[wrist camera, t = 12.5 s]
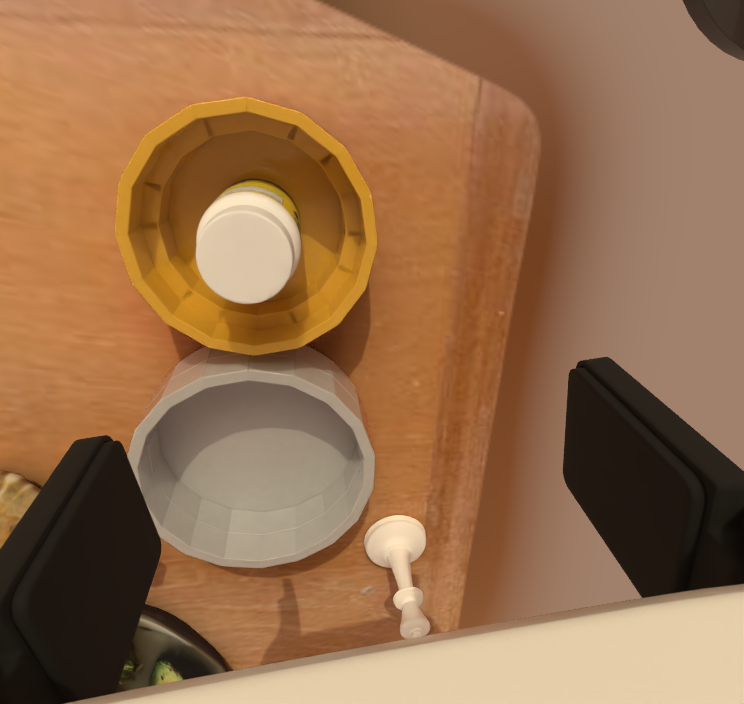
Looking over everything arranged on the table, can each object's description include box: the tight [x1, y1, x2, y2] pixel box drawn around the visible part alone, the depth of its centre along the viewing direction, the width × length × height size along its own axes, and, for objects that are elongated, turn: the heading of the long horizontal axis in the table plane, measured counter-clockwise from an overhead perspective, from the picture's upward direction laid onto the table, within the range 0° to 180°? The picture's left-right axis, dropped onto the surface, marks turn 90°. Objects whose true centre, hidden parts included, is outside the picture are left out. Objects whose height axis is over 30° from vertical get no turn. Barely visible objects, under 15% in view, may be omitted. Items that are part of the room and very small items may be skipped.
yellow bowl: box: [115, 97, 378, 356], centre depth 27 cm, size 12×12×5 cm
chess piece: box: [364, 515, 430, 639], centre depth 37 cm, size 5×5×10 cm
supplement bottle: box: [196, 178, 301, 304], centre depth 25 cm, size 5×5×8 cm
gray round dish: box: [127, 345, 375, 568], centre depth 33 cm, size 14×15×5 cm
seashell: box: [0, 470, 41, 549], centre depth 33 cm, size 9×8×10 cm
